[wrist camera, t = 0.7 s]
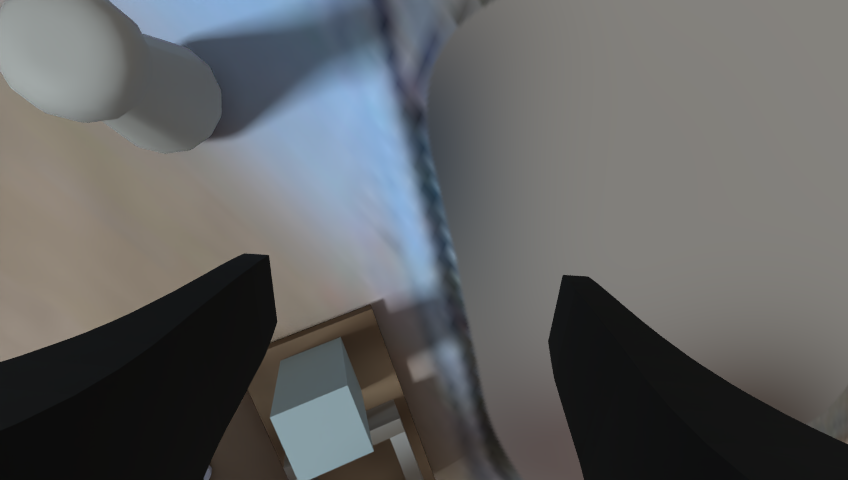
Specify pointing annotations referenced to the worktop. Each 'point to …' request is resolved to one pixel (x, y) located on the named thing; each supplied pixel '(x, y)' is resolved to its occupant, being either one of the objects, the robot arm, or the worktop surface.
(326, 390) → the peg
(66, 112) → the salt shaker
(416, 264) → the worktop surface
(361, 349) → the board
